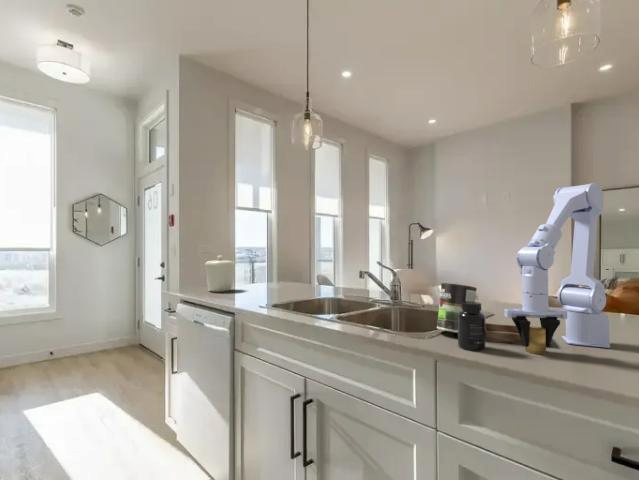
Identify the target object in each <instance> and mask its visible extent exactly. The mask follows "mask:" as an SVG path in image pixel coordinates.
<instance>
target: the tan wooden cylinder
mask: <svg viewBox="0 0 639 480" xmlns="http://www.w3.org/2000/svg"><path fill="white" fill-rule="evenodd" d="M524 348H525V350H524V351H525V352H526V353H530V354H533V355H546V354H547V347H546V329H545V328H542V327H541V326H534V325H532V326H531V325H530V328H529V346H528V347H525V346H524Z"/></svg>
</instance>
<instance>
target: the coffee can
mask: <svg viewBox="0 0 639 480" xmlns="http://www.w3.org/2000/svg"><path fill="white" fill-rule="evenodd" d="M477 290H478V289H477V287H475V286H471V285H466V284H465V285H463V284H458V283H446V282H441V283H440V295H439V306H438V315H437V322H436V323H437V325H436V329H438V330H440V331H441V330H442V331H446V332H451V333H455V334H458V314H459V313H460V312H461V311H463V310H462V309H461V307H462V302H465V301H472V302H476V292H477Z"/></svg>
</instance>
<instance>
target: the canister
mask: <svg viewBox="0 0 639 480" xmlns="http://www.w3.org/2000/svg"><path fill="white" fill-rule="evenodd" d="M216 259H217V260H215V259H214V260H208V261H206V262H205V263H203V265H204V267H205V274H206V275H205V278H206V285H207V289H208V291H210V292H212V293H215V292H216V293H222V292H223V293H224V292H229V291H231V290H232V287H233V281H234V274H235V265H236V262H234V260H227V259H224V256H223V255H220V254H219V255H217V256H216Z"/></svg>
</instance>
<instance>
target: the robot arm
mask: <svg viewBox="0 0 639 480" xmlns="http://www.w3.org/2000/svg"><path fill="white" fill-rule="evenodd" d="M554 192H555V193H554V195H553V196H552V199H553V200H552V201H553V204H554V205H553V208H552V210H551V212H550V214H549V216H548V218H547V220H546V222H545V223H543V224H540V225H539V226H538V228H537V229H536V230H535V232H534V234H533V235H532V237H531V239H530V240H529V242H528V244H527V246H523V247H522V248H521V249H519V251H518V253H517V256H516V263H517V265H518V267H519V273H520V275H521V280H522V281H521V289H522V290H521V292H522V294H521V295H522V296H521V297H522V299H521V301H522V302H521V303H522V308H520V307H518V308H504V309H503V313H504V314H503V315H504V317H505V318H511V321H512V322H513V324H514V326H516V328H517V330H518V332H519V335H520V339H521V343H522V344H521V345H522V346H523V347H524V348H525V347H528V346H529V328H530V326H531V321H530V320H528V318H530V319H531V318H533V319H535V318H537V319H539V322H540V327H542V328H545V329H546V348H550V346H551V342H552V339H553V337H554V334H555V332H556V331H557V329H558V328H559V326H560V325H561V320H560V319H563V320H565V335H561V338H562V340H564V341H565V342H566V344H568V345H573V346H574V345H575V346H587V347H596V348H607V349H610V348H611V345H610V319H609V316H608V314H607V313H606V312H603V309H605V307H606V304H607V297H606V292H605V291H606V290H605V288H606V287H605V285H604V284H603V283H602V282H601V281H599V279H597V278H596V277H594V269H595V268H594V267H595V256H596V255H595V254H596V245H597V244H596V243H597V228H598V217H599V216H601V215H602V214H603V209H604V198H605V197H604V196H605V194H604V192H603V190H602V188H601V186H600V185H599V184H598V183H596V182H591V183H588V184H587V183H586V184H580V185H575V186H567V187H559V188H557V189H556V190H555V191H554ZM569 218H571V219H573V220H574V229H573V242H572V254H571V265H570V266H571V267H570V274H569V275H568V276H567V277H565V278H563V279H562V280H560V287H559V289H558V290H557V301H558V303H559V305H561V307H562V309H552V308H551V309H549V269H550V268H551V267H552V266H553V265H554V261H555V254H556V253H555V252H556V251H555V248H556V247H557V245H558V244H559V242H560V240H561V238H562V237H563V232H562V230H561V228H563V226H564V225H565V223H566V222H567V221H568V219H569ZM601 311H602V312H601Z"/></svg>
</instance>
